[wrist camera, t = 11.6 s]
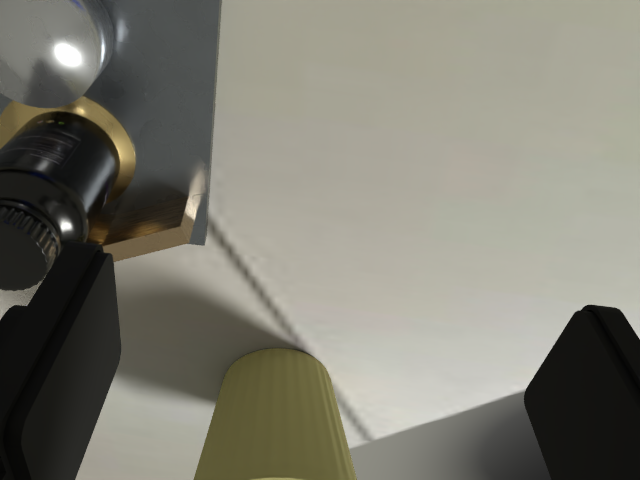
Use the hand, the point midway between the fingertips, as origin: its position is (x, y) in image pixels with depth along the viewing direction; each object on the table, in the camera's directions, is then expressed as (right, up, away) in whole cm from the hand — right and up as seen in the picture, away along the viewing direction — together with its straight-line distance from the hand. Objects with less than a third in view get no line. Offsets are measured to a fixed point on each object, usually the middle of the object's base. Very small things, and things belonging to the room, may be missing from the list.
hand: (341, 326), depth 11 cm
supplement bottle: (-18, +8, +27) cm, 33 cm away
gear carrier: (-18, +12, +26) cm, 33 cm away
